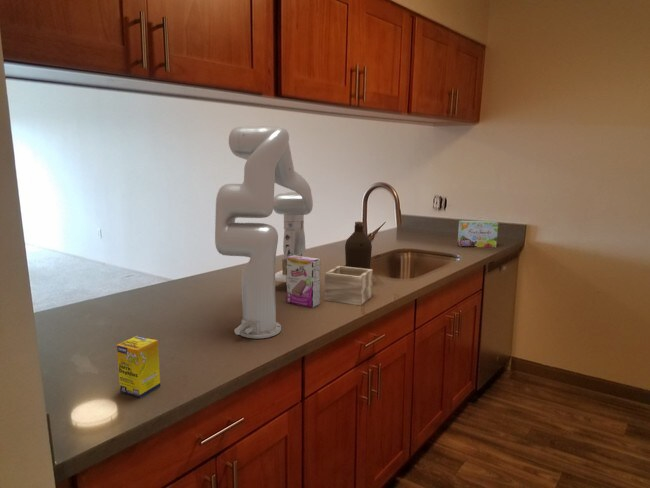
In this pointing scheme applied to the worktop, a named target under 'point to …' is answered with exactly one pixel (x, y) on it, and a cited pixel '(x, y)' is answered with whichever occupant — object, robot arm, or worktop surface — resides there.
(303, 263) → the candy bar box
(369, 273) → the box
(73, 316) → the worktop surface
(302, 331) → the worktop surface
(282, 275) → the lid
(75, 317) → the worktop surface
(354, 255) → the olive oil
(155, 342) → the supplement box
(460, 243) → the snack box
